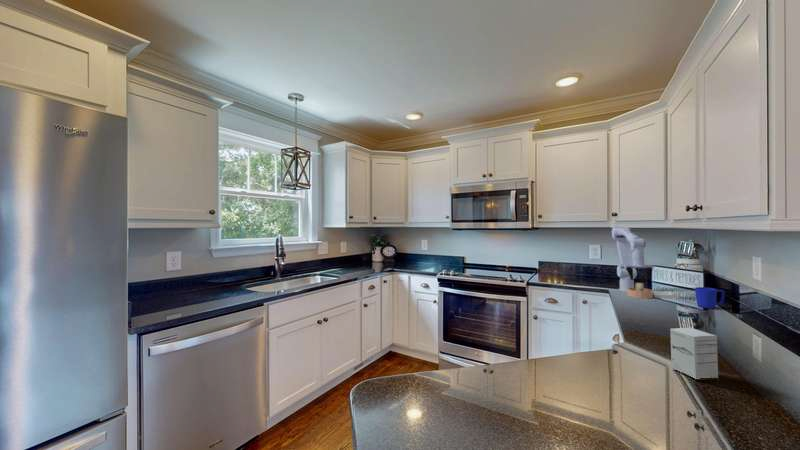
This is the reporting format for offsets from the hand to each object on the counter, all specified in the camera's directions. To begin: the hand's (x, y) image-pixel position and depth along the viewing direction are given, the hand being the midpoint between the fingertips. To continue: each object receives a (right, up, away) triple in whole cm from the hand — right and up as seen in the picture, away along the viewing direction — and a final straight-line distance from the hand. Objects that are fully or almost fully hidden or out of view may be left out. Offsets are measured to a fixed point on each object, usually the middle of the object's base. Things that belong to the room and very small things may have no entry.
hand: (639, 280), depth 188 cm
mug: (+16, -10, -28) cm, 33 cm away
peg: (0, -10, 0) cm, 10 cm away
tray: (+13, -10, -1) cm, 17 cm away
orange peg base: (0, -11, 0) cm, 11 cm away
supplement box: (-61, -10, -98) cm, 116 cm away
